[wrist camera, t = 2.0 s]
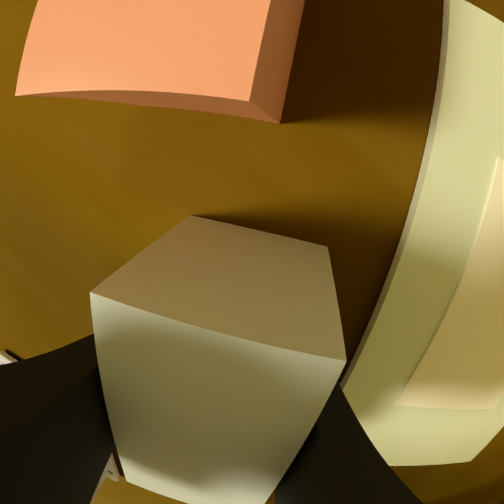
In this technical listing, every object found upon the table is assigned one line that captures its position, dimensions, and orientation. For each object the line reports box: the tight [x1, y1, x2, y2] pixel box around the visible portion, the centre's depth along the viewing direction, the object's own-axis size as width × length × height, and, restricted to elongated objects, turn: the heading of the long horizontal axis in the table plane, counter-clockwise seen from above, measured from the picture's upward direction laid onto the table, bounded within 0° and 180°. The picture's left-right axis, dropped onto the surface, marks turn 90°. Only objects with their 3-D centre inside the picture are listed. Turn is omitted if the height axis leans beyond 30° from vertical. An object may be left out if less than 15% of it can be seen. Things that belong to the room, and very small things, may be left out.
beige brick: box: [90, 215, 347, 504], centre depth 8 cm, size 7×4×5 cm, turn 169°
